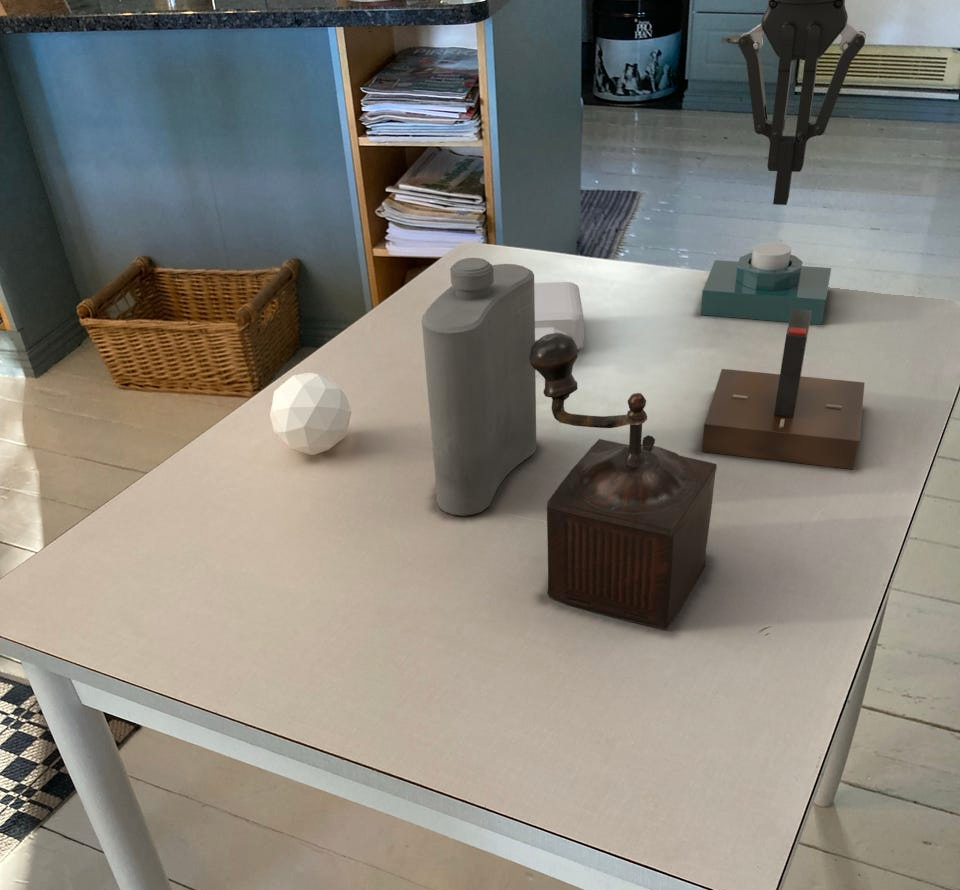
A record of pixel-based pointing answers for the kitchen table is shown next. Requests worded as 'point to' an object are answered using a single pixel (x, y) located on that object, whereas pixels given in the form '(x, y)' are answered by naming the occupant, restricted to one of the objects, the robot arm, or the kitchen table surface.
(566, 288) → the charger
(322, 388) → the geometric ball
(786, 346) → the dark upright slab
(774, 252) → the white push button
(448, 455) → the flask
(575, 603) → the manual coffee grinder
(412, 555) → the kitchen table surface
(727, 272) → the teal nut fixture block
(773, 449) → the brown lever base block
